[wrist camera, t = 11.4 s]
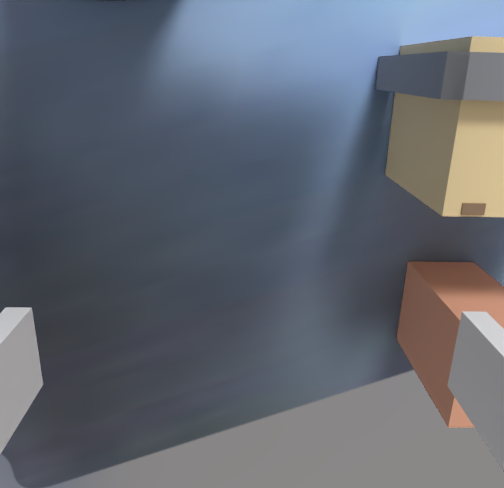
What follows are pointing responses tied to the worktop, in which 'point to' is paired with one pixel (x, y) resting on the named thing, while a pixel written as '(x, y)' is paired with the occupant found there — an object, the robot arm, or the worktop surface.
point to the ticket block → (448, 124)
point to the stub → (443, 323)
